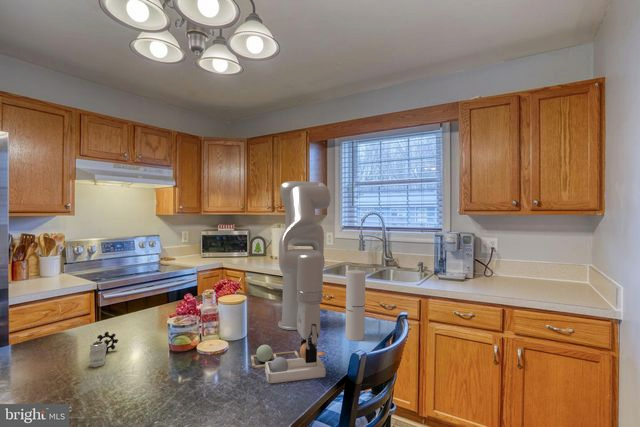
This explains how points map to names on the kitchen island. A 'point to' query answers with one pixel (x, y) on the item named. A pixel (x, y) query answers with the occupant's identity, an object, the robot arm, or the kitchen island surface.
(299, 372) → the trough
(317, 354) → the card
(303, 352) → the ball terracotta
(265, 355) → the ball sage
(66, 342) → the kitchen island surface
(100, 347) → the valve
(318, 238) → the robot arm
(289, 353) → the tray
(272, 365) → the ball slate
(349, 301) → the cylindrical container
